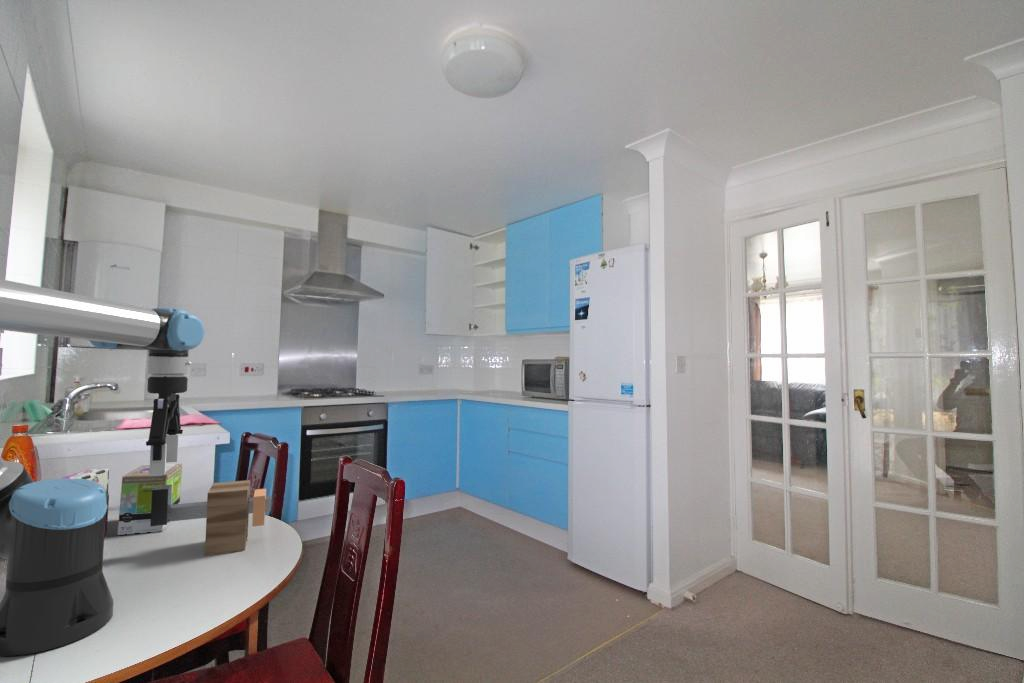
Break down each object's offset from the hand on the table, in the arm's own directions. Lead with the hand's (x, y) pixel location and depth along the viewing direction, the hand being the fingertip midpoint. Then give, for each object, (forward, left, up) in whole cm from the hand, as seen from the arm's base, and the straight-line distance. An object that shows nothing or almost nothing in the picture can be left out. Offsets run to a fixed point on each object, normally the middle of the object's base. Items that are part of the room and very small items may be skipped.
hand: (164, 468), depth 111 cm
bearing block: (0, -13, -19) cm, 23 cm away
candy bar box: (+15, +19, -20) cm, 31 cm away
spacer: (0, -20, -14) cm, 24 cm away
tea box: (+24, +7, -20) cm, 31 cm away
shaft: (0, -10, -12) cm, 16 cm away
